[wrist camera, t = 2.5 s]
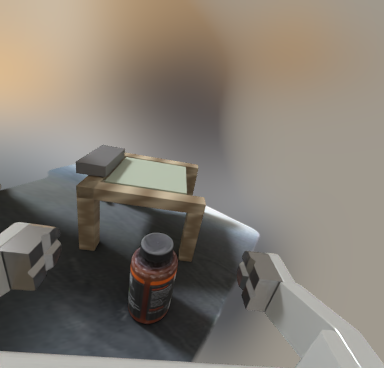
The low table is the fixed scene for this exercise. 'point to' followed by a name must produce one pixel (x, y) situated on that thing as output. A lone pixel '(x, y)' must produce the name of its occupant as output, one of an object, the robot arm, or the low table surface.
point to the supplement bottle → (152, 278)
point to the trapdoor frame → (100, 191)
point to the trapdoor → (133, 171)
